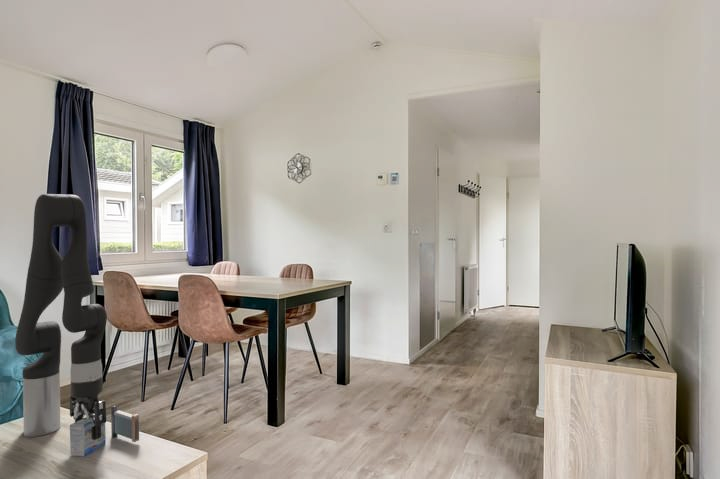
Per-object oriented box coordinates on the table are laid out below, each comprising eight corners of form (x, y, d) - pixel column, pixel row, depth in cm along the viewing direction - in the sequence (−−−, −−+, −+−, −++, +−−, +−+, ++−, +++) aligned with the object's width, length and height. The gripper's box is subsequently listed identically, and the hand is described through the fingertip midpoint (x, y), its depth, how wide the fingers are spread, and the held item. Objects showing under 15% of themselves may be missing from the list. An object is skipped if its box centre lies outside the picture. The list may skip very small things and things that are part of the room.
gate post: (110, 436, 131) (109, 406, 131) (115, 434, 132) (115, 404, 132) (113, 438, 130) (113, 407, 130) (118, 435, 131) (118, 405, 131)
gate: (114, 434, 130) (114, 409, 130) (119, 433, 131) (118, 408, 131) (134, 442, 125) (134, 416, 125) (139, 440, 126) (138, 414, 126)
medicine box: (83, 457, 119) (83, 425, 118) (69, 456, 119) (69, 424, 119) (106, 443, 126) (105, 413, 126) (92, 442, 127) (92, 412, 127)
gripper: (58, 377, 123) (60, 435, 123) (86, 384, 115) (87, 446, 115) (87, 370, 129) (88, 425, 129) (114, 376, 122) (116, 435, 122)
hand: (88, 435), depth 122 cm, fingers open, 8 cm apart
